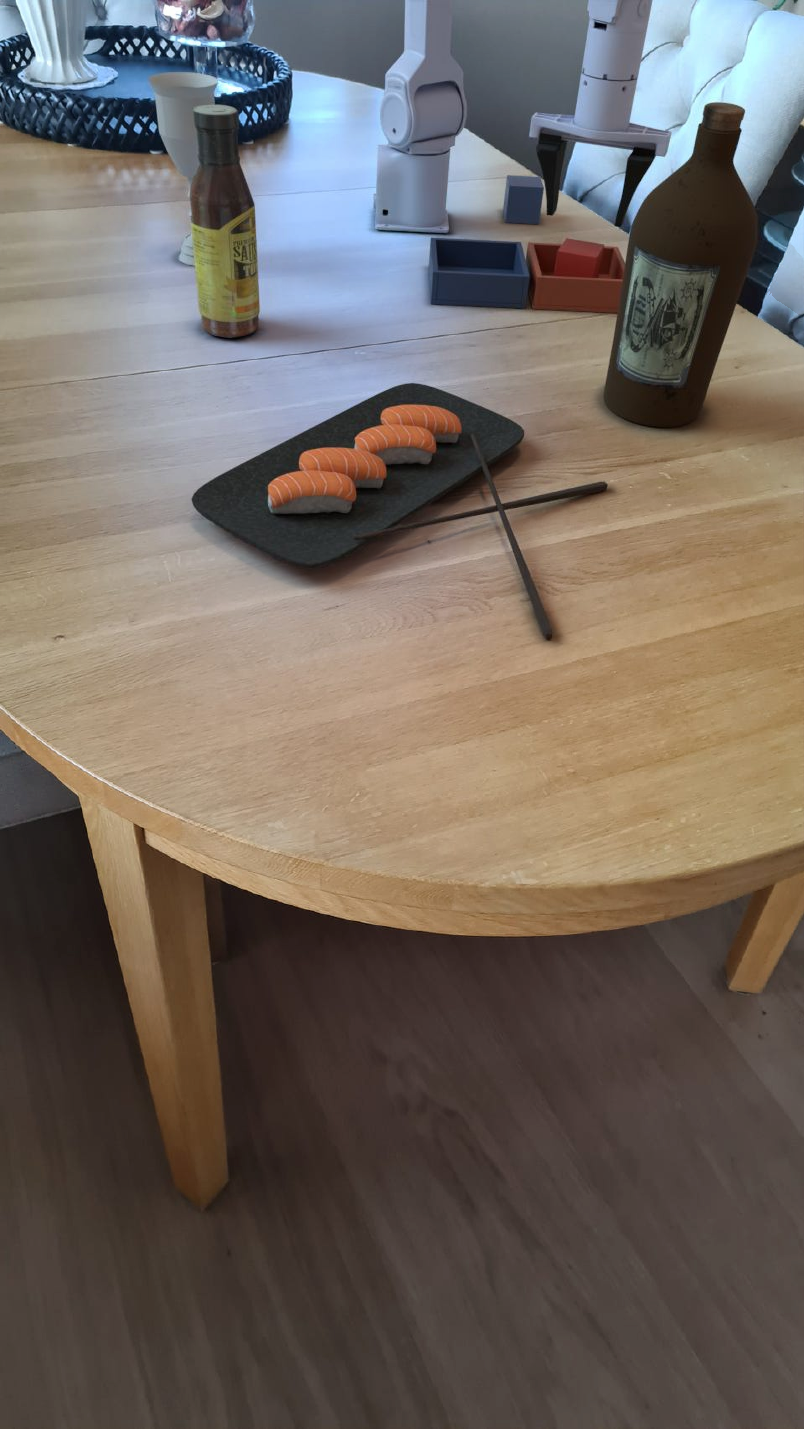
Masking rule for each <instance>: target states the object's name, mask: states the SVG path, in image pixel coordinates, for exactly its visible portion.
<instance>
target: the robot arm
mask: <svg viewBox="0 0 804 1429" xmlns="http://www.w3.org/2000/svg"><path fill="white" fill-rule="evenodd" d="M453 1H454V0H404V35H403V36H404V42H403V43H404V44H403V47H404V48H403V51H402V54H400V56H399V58H398V59H397V60H396V61H395V62H394V63H393V64H392V65H391V67H390V68H389V69H388V70H387V71H386V73H385V76H384V80H385V81H384V92H383V95H382V99H381V102H380V105H379V121H380V127H381V131H382V133H383V136H384V138H385V139H386V140H387V143H388V144H378V145H377V148H376V149H377V151H376V153H377V154H376V177H375V178H376V179H375V180H376V181H375V182H376V184H375V193H373V197H372V199H373V200H372V209H373V210H375V216H374V217H375V221H374V222H375V223H374V224H375V225H374V228H375V230H379V231H397V232H417V233H418V232H419V233H435V234H437V233H438V234H448V233H449V232H450V224H449V214H448V210H447V201H448V200H447V199H448V198H447V197H448V186H449V172H450V159H451V148H452V147H454V146H456V137H458V136H459V135H460V134H461V133H462V131H463V130H464V128H465V125H466V121H467V116H468V104H467V99H466V95H465V90H464V76H465V75H464V74H465V73H464V71H463V69H462V67H461V66H460V65H459V63H458V62H457V61H456V60H455V58H454V57H453V56H452V54H451V48H452V47H451V46H452V44H451V43H452V26H453V25H452V24H453V22H452V21H453V6H454V4H453ZM652 6H653V0H588V2H587V10H586V11H588V17H589V20H588V27H587V34H586V40H585V46H584V53H583V59H582V65H581V71H580V72H581V73H580V78H579V85H578V92H577V99H576V105H575V112H574V114H560V113H559V114H557V113H543V112H534V114H533V115H532V116H531V118H530V126H529V134H528V137H529V138H533V139H538V142H537V144H536V146H535V151H536V156H537V159H538V163H539V166H540V170H541V173H542V177H543V178H542V179H543V182H544V183H543V184H544V190H545V201H546V216H549V217H553V216H554V215H555V213H556V212H557V208H558V203H559V198H560V185H561V176H562V170H563V164H564V159H565V155H566V150H567V144H568V142H572V143H580V144H587V145H594V146H600V147H607V148H614V149H621V150H628V151H631V153H630V154H629V155H628V157H627V158H626V159H627V160H626V167H625V174H624V181H623V186H622V192H621V197H620V201H619V205H618V209H617V212H616V216H615V222H614V227H617V228H622V226H623V224H624V222H625V219H626V216H627V212H628V209H629V207H630V204H631V202H632V200H633V197H634V195H635V193H636V191H637V189H638V187H639V185H640V183H641V181H643V179H644V177H645V175H646V174H647V172H648V171H649V169H650V167H651V166H652V164H653V163H654V161H655V160H656V157H663V158H665V157H666V155H667V153H668V152H669V151H668V150H669V147H670V143H671V138H672V131H670V130H665V129H660V128H659V129H658V128H654V127H651V126H650V127H649V126H647V125H641V124H637V123H634V122H631V116H632V111H633V106H634V100H635V95H636V90H637V84H638V79H639V75H640V69H641V64H642V60H643V59H642V58H643V54H644V53H643V52H644V49H645V42H646V39H647V38H646V37H647V32H648V27H649V21H650V15H651V10H652Z"/></svg>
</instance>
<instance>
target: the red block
mask: <svg viewBox="0 0 804 1429" xmlns="http://www.w3.org/2000/svg"><path fill="white" fill-rule="evenodd" d="M561 244H562V245H561V247H560V248H559V250H558V251H557V258H556V264H555V271H554V276H563V277H583V278H598V277H599V271H600V266H601V261H602V255H603V250H604V246H605V244H604V243H599V242H592V241H587V240H582V239H581V240H580V239H575V238H569V237H565V239H564V241H563V242H562V243H561Z"/></svg>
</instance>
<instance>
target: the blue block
mask: <svg viewBox="0 0 804 1429" xmlns="http://www.w3.org/2000/svg"><path fill="white" fill-rule="evenodd" d="M544 190H545V186H544V183H543V180H542V177H541V176H530V175H510V174H507V175H506V180H505V189H504V198H503V207H502V213H503V218H504V221H505V223H507V224H524V225H525V224H526V225H539V224H540V219H541V212H542V206H543V205H542V203H543V198H544Z"/></svg>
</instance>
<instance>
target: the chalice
mask: <svg viewBox="0 0 804 1429" xmlns="http://www.w3.org/2000/svg"><path fill="white" fill-rule="evenodd" d="M147 81H148V82H149V84H150V86H151V88H152V90H153V92H154V99H155V108H156V109H155V110H156V118H157V125H158V133H159V136H160V138H161V140H162V142H163V145H164V147H165V149H166V152H167V154H168V155H169V158H170V159H171V161H172V164H174V166H175V169H176V170H177V172H178V174H179V175H181V176H183V177H185V178H187V182H188V193H187V195H186V196H187V198H188V200H189V201H190V187H191V184H192V180H193V177H194V175H196V173H197V170H198V167H199V165H200V162H199V159H198V154H199V151H198V140H197V129H196V128H195V124H194V114H193V109H194V108H195V107H198V106H202V105H216V101H215V91H216V88H217V85H218V82H219V80H218V78H216V77H215V76H212V75H209V74H205V73H198V72H189V71H188V72H187V71H172V72H162V73H161V72H160V73H155V74H153V75H151V76H149V77H148V78H147ZM187 215H188V216H189V217H190V218H191V217H192V214H191V209H190V210H189V212H188V214H187ZM178 260H179V262H181V263H183V264H185V265H188V266H193V267H195V262H194V251H193V240H192V231H190V234H188V235H186V236H185V238H183V240H182V246H181V248H180V253H179V256H178Z"/></svg>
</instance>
